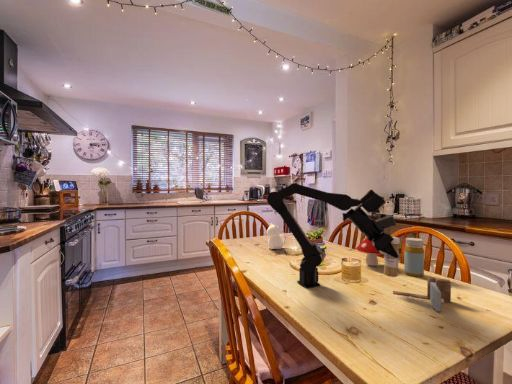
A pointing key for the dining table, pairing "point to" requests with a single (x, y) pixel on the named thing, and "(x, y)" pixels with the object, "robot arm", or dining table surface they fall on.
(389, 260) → the sprinkles bottle
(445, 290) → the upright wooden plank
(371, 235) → the robot arm
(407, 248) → the bottle
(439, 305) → the door
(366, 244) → the decorative mushroom
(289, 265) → the dining table surface
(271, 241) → the cat figurine
